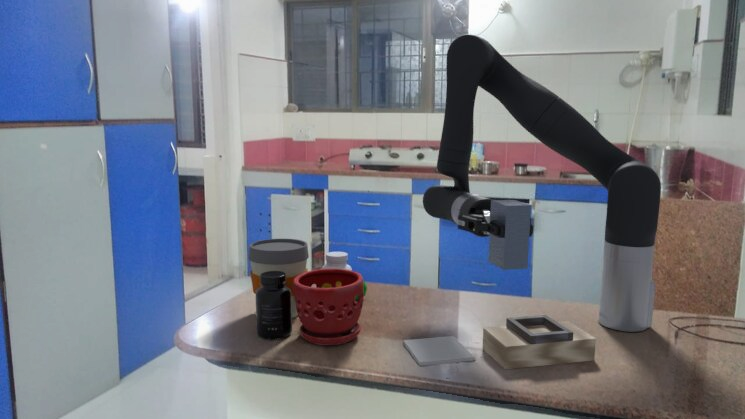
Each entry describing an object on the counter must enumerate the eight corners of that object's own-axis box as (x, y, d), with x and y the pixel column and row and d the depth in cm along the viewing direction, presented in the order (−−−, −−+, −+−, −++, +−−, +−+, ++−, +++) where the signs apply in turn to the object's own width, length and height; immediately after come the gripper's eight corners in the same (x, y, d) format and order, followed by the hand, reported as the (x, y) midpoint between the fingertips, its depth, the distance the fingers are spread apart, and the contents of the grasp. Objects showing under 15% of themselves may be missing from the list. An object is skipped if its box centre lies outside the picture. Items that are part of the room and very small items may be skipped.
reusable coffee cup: (321, 310, 125) (320, 242, 123) (282, 327, 115) (281, 254, 112) (277, 300, 132) (276, 235, 130) (237, 315, 122) (235, 246, 119)
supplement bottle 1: (258, 327, 115) (257, 269, 113) (293, 327, 115) (292, 268, 113) (254, 340, 108) (252, 279, 106) (291, 340, 108) (290, 278, 106)
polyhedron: (370, 297, 135) (370, 277, 134) (361, 303, 130) (361, 283, 129) (351, 294, 137) (351, 275, 136) (341, 300, 132) (341, 280, 131)
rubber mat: (453, 339, 110) (453, 335, 109) (474, 360, 100) (474, 357, 100) (403, 343, 107) (403, 340, 107) (419, 365, 98) (419, 362, 98)
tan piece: (565, 341, 109) (567, 313, 108) (594, 360, 100) (596, 330, 100) (482, 348, 105) (483, 319, 104) (505, 369, 96) (506, 338, 96)
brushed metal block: (511, 259, 104) (514, 199, 102) (527, 268, 98) (531, 205, 97) (488, 261, 103) (491, 200, 101) (503, 269, 97) (506, 205, 96)
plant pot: (306, 322, 118) (306, 265, 116) (369, 328, 115) (370, 269, 113) (284, 347, 105) (283, 283, 103) (354, 354, 102) (354, 288, 100)
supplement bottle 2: (347, 318, 120) (347, 258, 118) (317, 315, 122) (317, 256, 120) (355, 308, 127) (355, 251, 125) (326, 305, 128) (325, 249, 126)
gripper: (442, 195, 111) (478, 210, 95) (510, 194, 114) (556, 208, 98) (441, 233, 112) (476, 255, 96) (508, 231, 116) (553, 251, 99)
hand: (516, 231), depth 97 cm, fingers closed on brushed metal block, 4 cm apart
